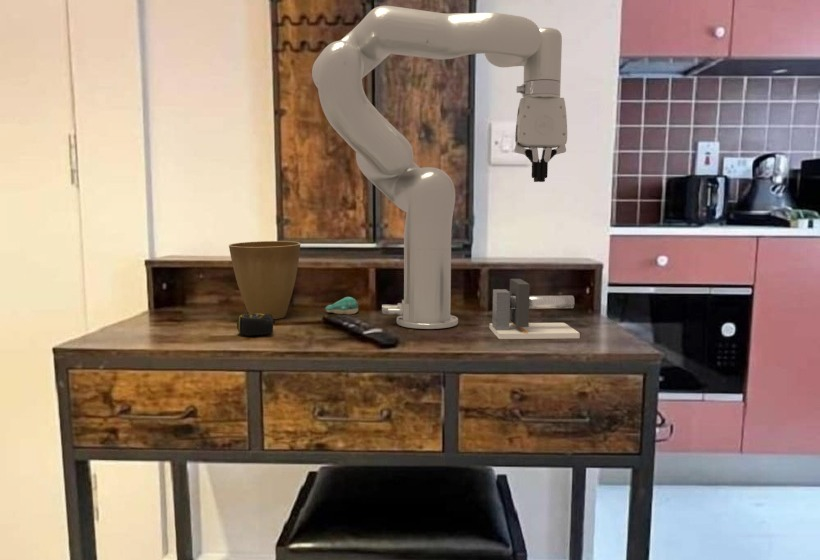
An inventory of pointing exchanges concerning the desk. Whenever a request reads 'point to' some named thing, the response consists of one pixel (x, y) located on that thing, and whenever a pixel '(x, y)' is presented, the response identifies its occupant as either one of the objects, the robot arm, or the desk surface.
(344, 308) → the whale figurine
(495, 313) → the rod with grey supports
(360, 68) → the robot arm
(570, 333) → the groove board
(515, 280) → the dark grey holed plate
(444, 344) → the desk surface
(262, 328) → the tape measure
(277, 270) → the plant pot
